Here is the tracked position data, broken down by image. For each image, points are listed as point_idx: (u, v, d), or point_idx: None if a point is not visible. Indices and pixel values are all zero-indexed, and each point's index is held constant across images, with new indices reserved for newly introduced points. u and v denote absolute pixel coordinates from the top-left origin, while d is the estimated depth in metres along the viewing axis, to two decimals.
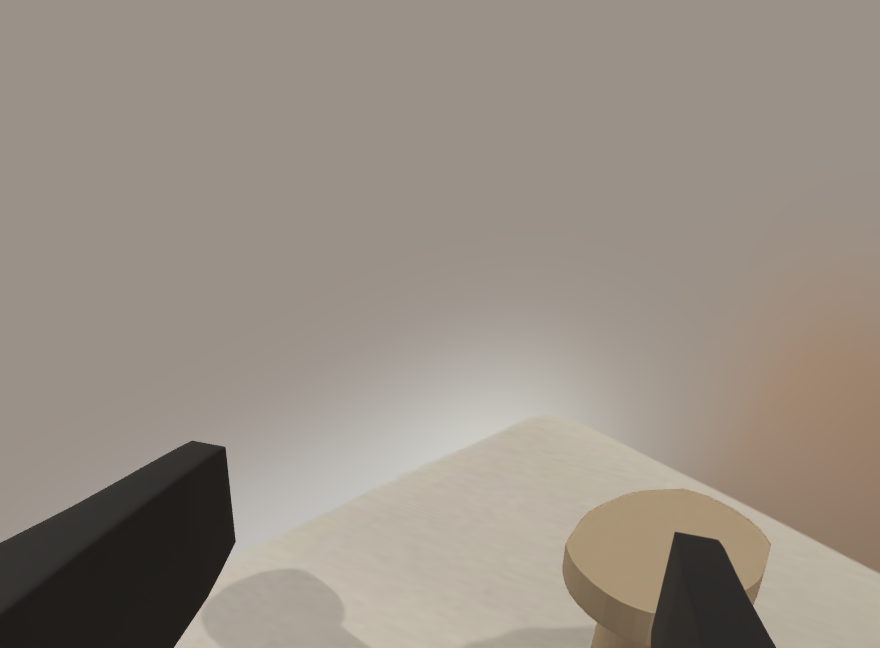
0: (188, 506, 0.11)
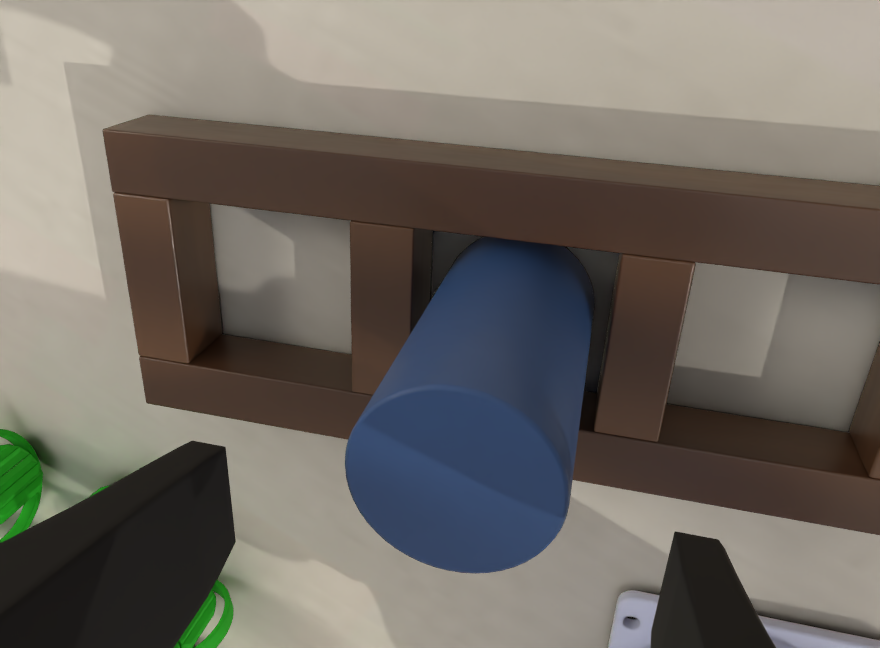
0: (188, 506, 0.11)
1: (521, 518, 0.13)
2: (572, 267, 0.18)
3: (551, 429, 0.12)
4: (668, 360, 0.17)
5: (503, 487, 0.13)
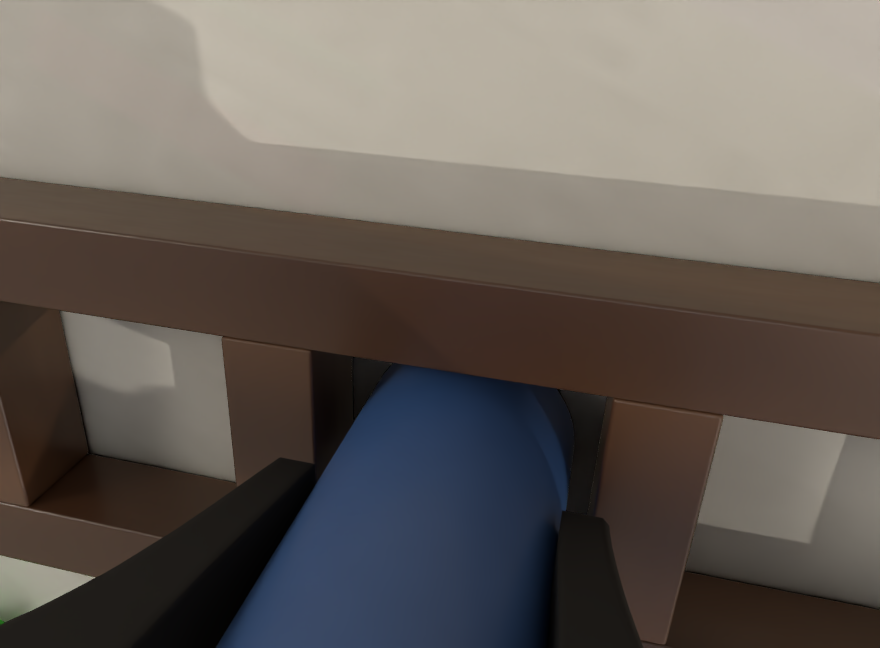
0: (284, 526, 0.11)
1: None
2: (541, 400, 0.13)
3: None
4: (681, 544, 0.12)
5: None
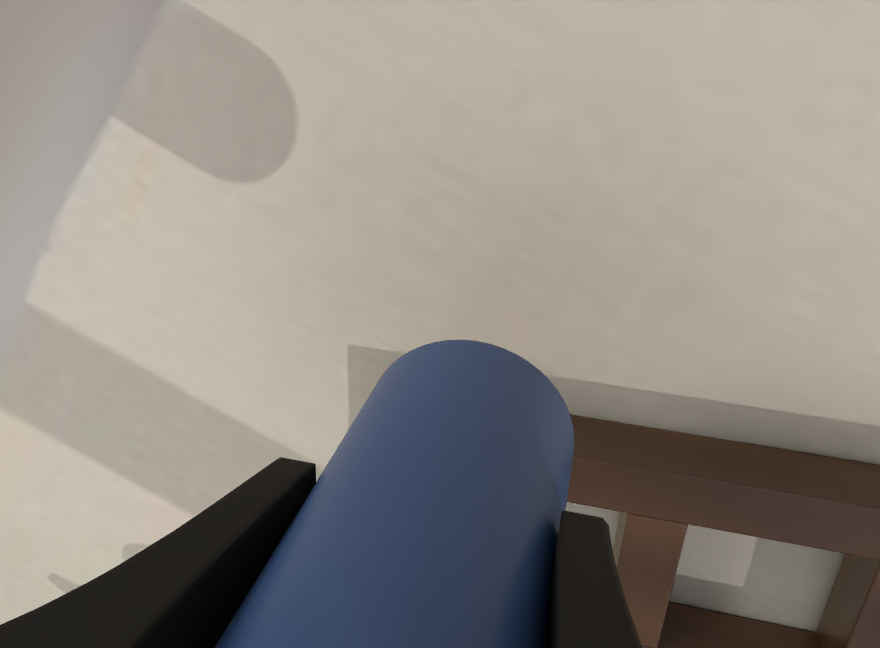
0: (284, 526, 0.11)
1: None
2: (541, 399, 0.13)
3: None
4: None
5: None
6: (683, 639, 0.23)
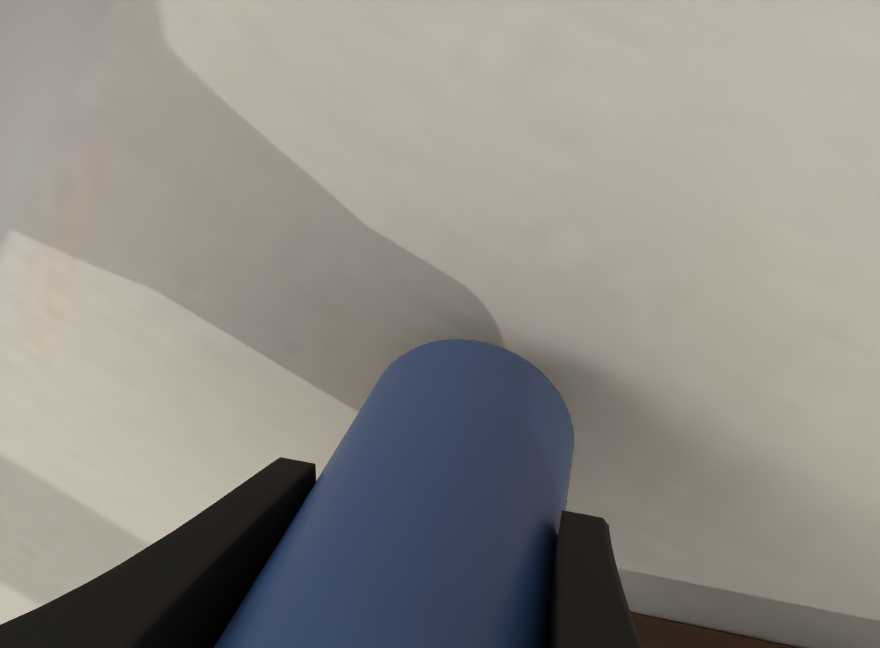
0: (284, 526, 0.11)
1: None
2: (541, 399, 0.13)
3: None
4: None
5: None
6: None
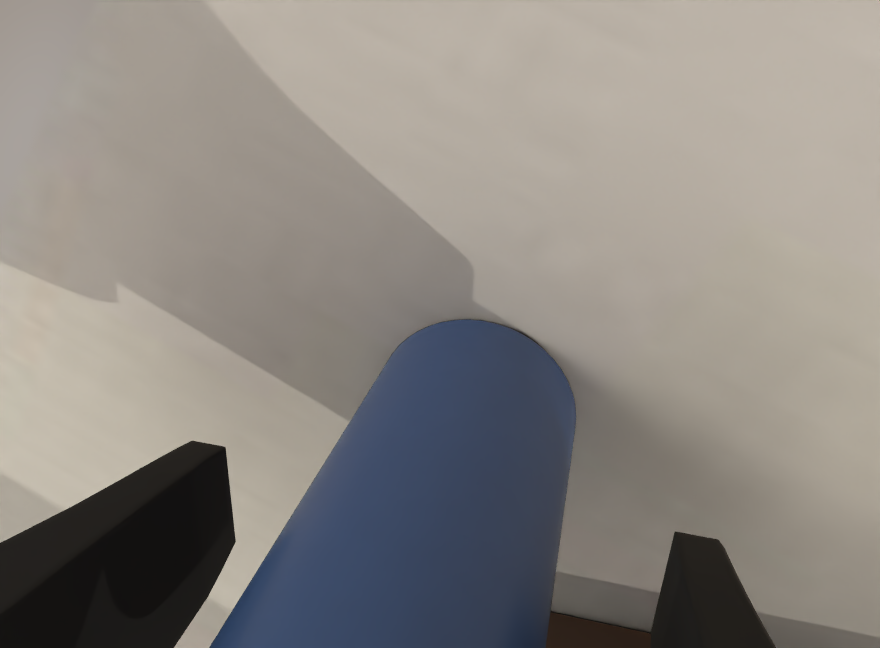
0: (188, 506, 0.11)
1: None
2: (544, 376, 0.13)
3: None
4: None
5: None
6: None
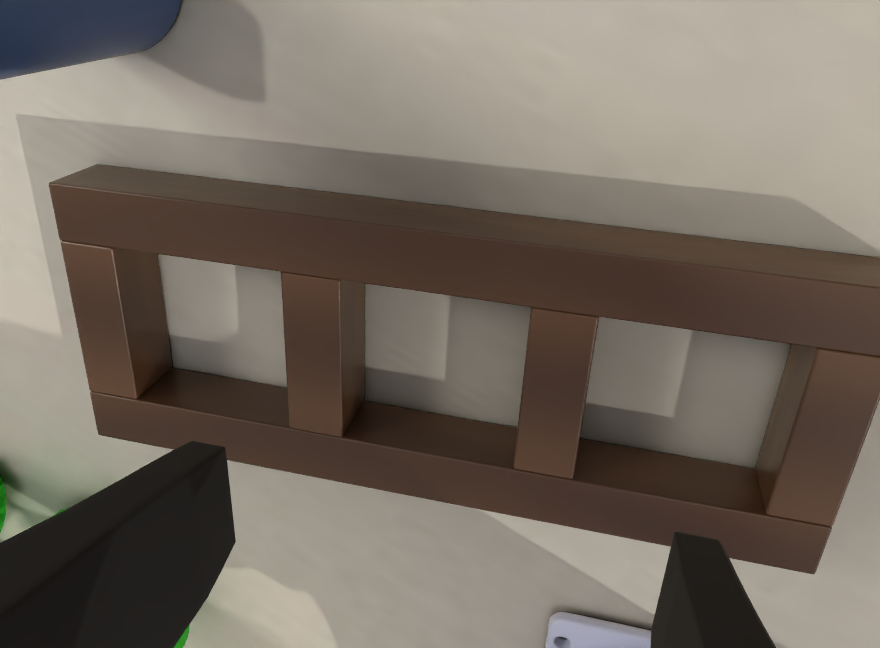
0: (188, 506, 0.11)
1: None
2: None
3: None
4: (578, 405, 0.19)
5: None
6: (375, 431, 0.21)
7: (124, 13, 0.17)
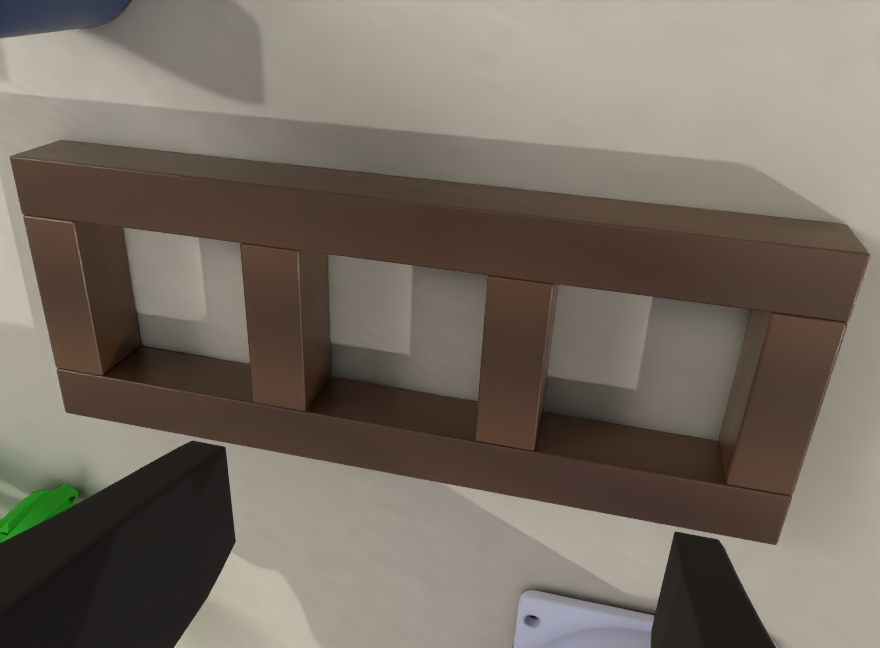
0: (188, 506, 0.11)
1: None
2: None
3: None
4: (536, 374, 0.19)
5: None
6: (339, 405, 0.21)
7: None
